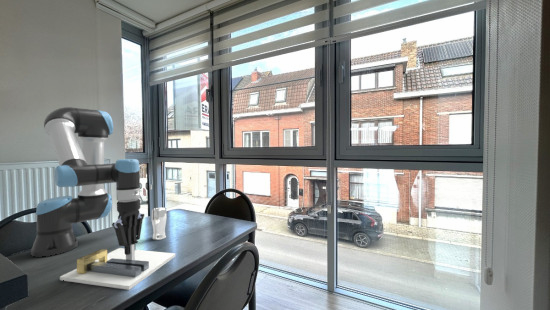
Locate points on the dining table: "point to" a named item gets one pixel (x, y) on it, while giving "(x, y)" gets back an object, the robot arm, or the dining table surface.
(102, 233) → the dining table surface
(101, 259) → the collar
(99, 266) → the fixed jaw
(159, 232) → the beer glass
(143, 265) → the moving jaw
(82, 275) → the board
